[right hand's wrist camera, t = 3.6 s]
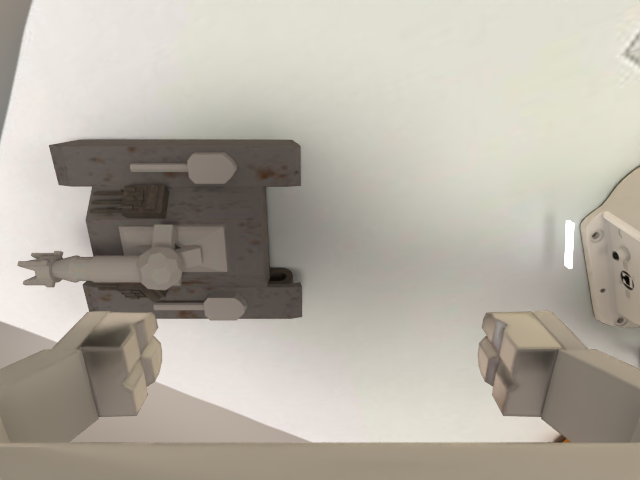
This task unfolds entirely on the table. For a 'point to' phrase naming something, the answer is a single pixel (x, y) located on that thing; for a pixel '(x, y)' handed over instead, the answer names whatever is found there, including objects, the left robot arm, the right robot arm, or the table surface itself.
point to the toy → (177, 227)
